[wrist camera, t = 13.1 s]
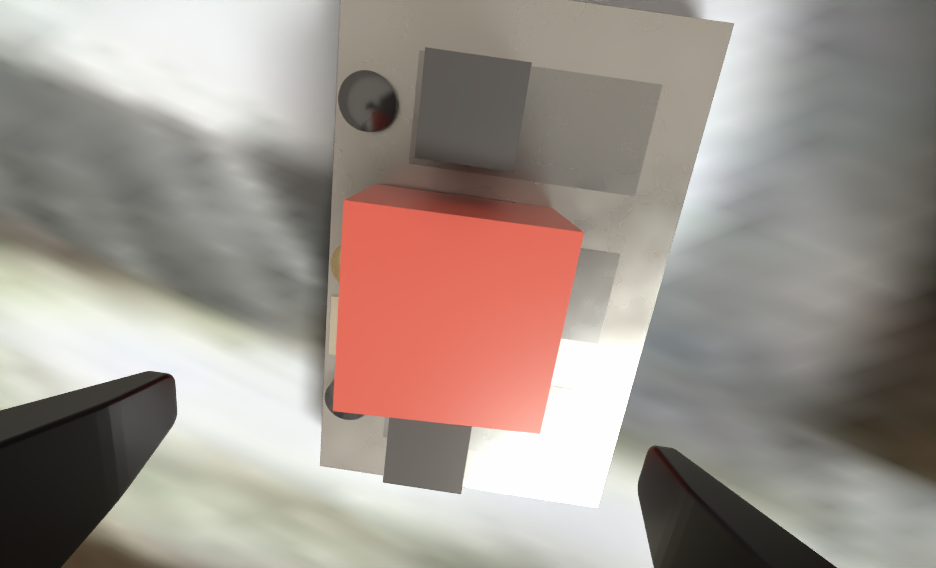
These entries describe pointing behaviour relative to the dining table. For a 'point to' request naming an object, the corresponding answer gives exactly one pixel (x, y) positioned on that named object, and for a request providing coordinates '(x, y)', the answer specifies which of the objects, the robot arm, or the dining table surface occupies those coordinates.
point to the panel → (537, 196)
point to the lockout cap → (451, 307)
